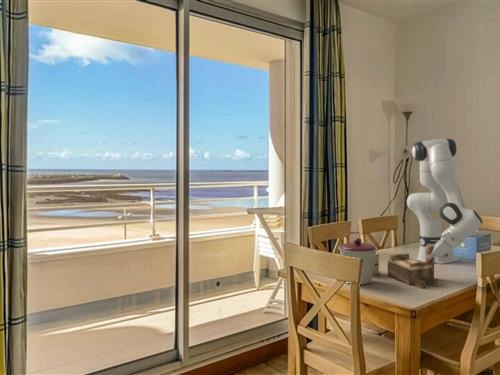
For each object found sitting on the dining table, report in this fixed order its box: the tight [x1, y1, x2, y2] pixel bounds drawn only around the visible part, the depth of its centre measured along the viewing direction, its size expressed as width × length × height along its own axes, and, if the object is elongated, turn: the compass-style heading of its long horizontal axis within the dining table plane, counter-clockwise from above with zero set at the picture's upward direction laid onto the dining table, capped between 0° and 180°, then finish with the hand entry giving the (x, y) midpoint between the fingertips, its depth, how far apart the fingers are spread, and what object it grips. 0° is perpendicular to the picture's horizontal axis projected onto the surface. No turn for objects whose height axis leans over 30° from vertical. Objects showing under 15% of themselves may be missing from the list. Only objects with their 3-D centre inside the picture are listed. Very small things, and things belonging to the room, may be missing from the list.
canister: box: [337, 237, 378, 286], centre depth 195 cm, size 18×18×21 cm
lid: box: [387, 252, 433, 270], centre depth 197 cm, size 12×18×4 cm
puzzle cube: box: [373, 253, 380, 276], centre depth 211 cm, size 10×10×10 cm
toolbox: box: [387, 261, 439, 289], centre depth 196 cm, size 12×22×7 cm, turn 18°
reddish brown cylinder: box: [426, 246, 435, 279], centre depth 198 cm, size 4×4×16 cm
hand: (428, 257), depth 199 cm, fingers open, 4 cm apart
